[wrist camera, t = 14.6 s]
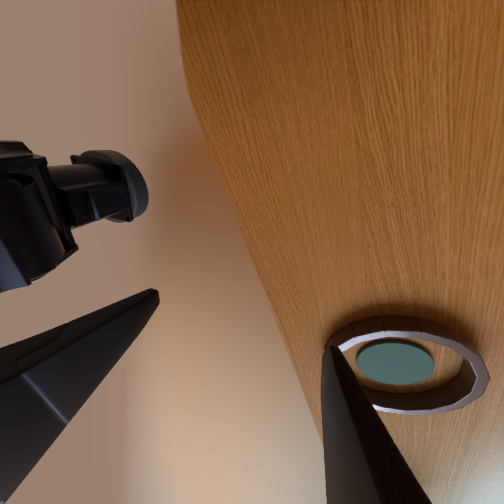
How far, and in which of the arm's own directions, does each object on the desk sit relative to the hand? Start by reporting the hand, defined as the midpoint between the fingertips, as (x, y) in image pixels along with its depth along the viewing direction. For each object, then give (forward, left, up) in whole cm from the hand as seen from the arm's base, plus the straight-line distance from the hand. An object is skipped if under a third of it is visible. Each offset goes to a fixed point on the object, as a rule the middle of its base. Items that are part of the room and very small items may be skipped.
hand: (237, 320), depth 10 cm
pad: (+18, -14, -12) cm, 25 cm away
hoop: (+18, -13, -12) cm, 25 cm away
